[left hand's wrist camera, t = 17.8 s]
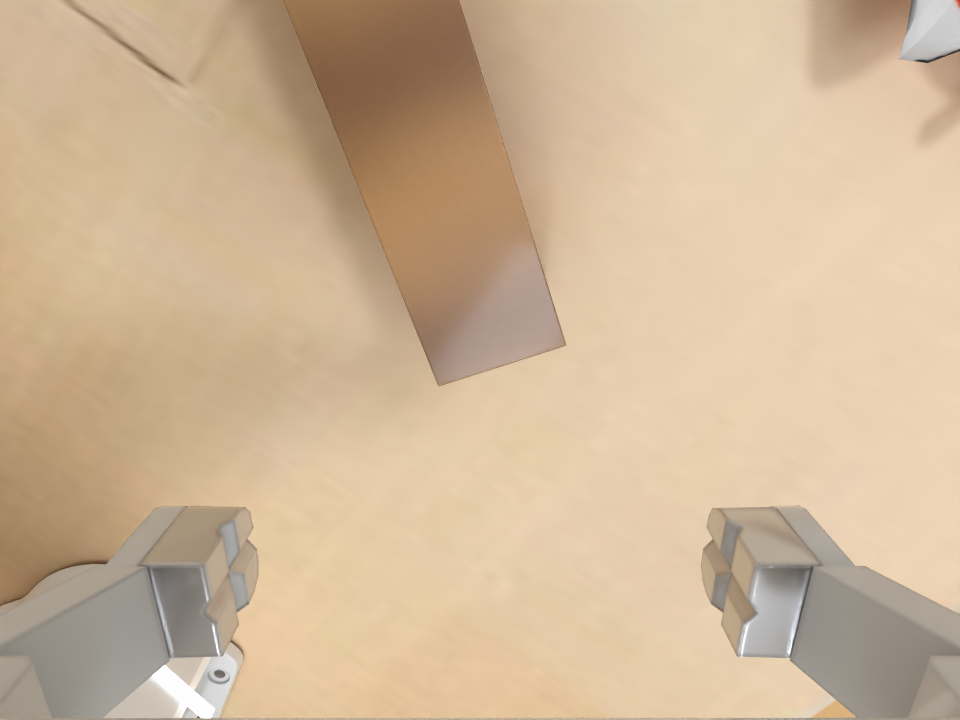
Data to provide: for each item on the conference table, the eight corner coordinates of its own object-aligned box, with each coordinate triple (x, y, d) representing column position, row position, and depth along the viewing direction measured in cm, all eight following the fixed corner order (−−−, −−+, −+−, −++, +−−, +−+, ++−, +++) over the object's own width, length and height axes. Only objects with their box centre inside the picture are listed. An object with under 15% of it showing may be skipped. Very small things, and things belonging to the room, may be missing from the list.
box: (545, 293, 36) (566, 345, 28) (448, 325, 37) (438, 386, 28) (372, -259, 27) (320, -447, 18) (247, -202, 28) (139, -356, 19)
